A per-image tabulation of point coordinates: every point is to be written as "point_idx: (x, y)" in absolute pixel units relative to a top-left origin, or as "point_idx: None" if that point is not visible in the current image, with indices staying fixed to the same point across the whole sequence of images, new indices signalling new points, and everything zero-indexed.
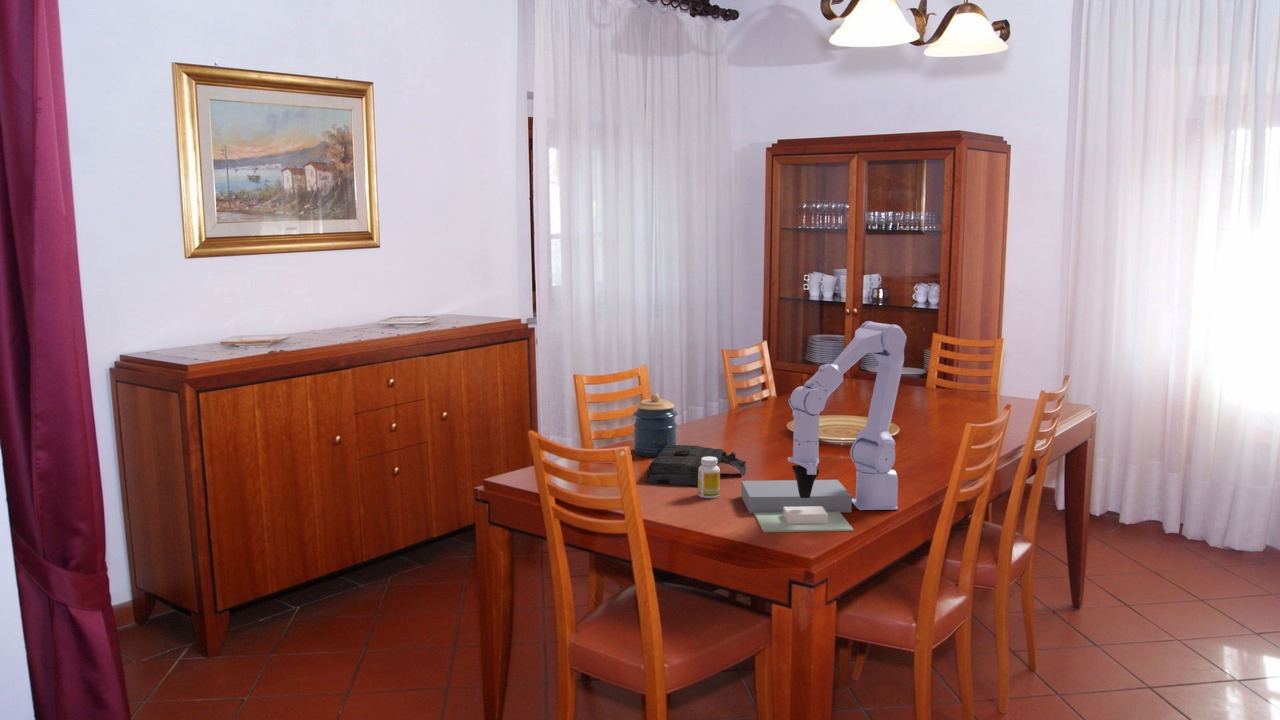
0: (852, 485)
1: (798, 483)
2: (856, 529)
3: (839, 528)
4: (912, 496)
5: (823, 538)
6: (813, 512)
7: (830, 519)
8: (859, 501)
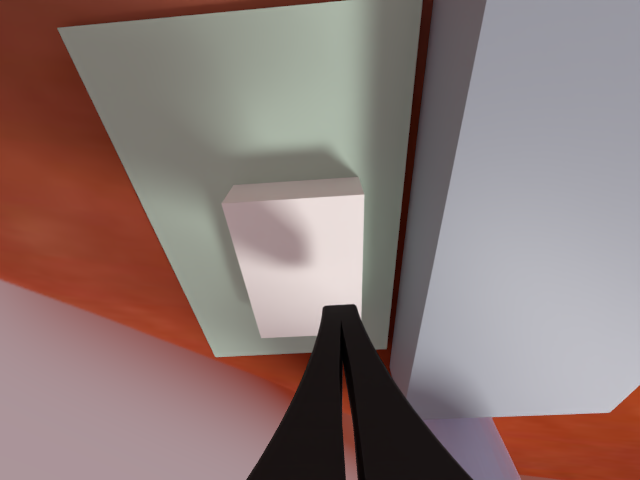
0: (636, 392)
1: (317, 380)
2: (234, 358)
3: (211, 332)
4: None
5: (111, 281)
6: (275, 302)
7: None
8: None
